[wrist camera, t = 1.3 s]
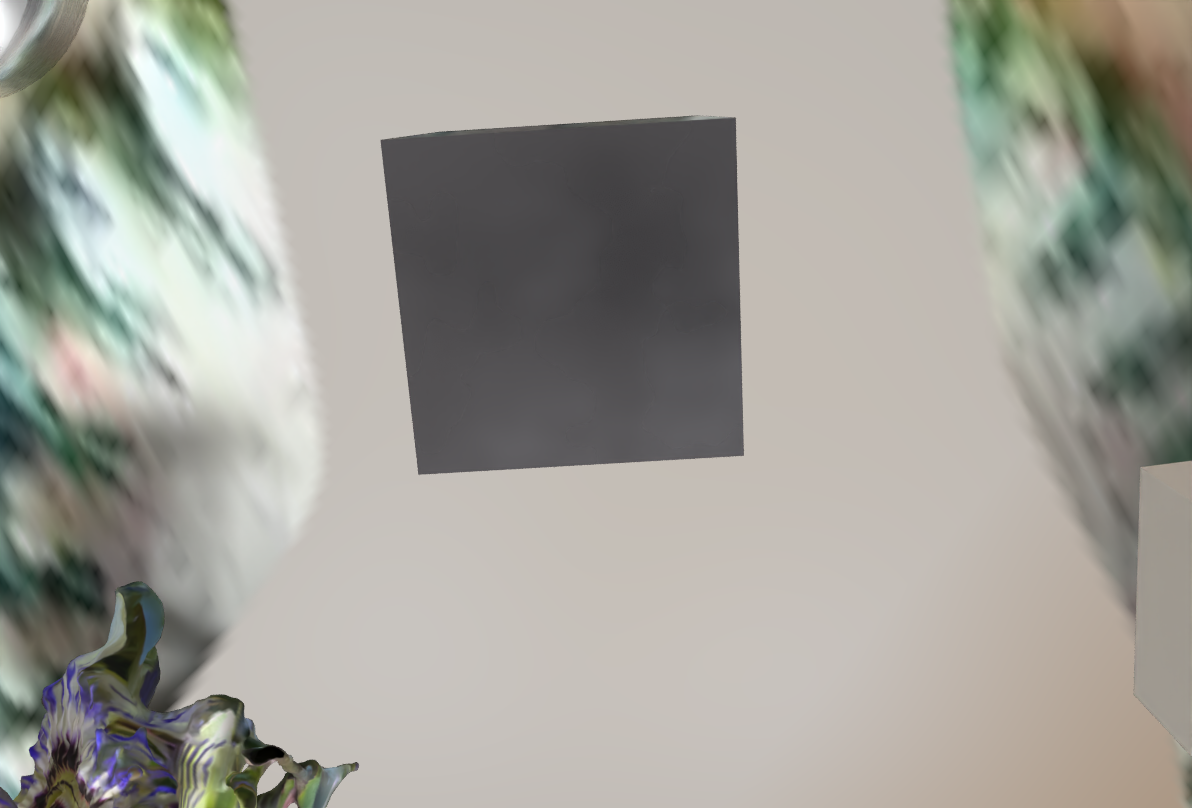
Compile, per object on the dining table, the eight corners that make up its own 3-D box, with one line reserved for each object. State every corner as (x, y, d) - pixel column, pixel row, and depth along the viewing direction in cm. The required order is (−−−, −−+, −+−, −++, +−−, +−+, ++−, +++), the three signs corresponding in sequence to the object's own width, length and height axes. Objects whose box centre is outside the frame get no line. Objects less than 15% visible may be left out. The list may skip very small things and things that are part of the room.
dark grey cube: (697, 115, 28) (735, 117, 21) (705, 367, 30) (743, 455, 22) (438, 131, 28) (381, 140, 21) (463, 381, 30) (418, 474, 23)
